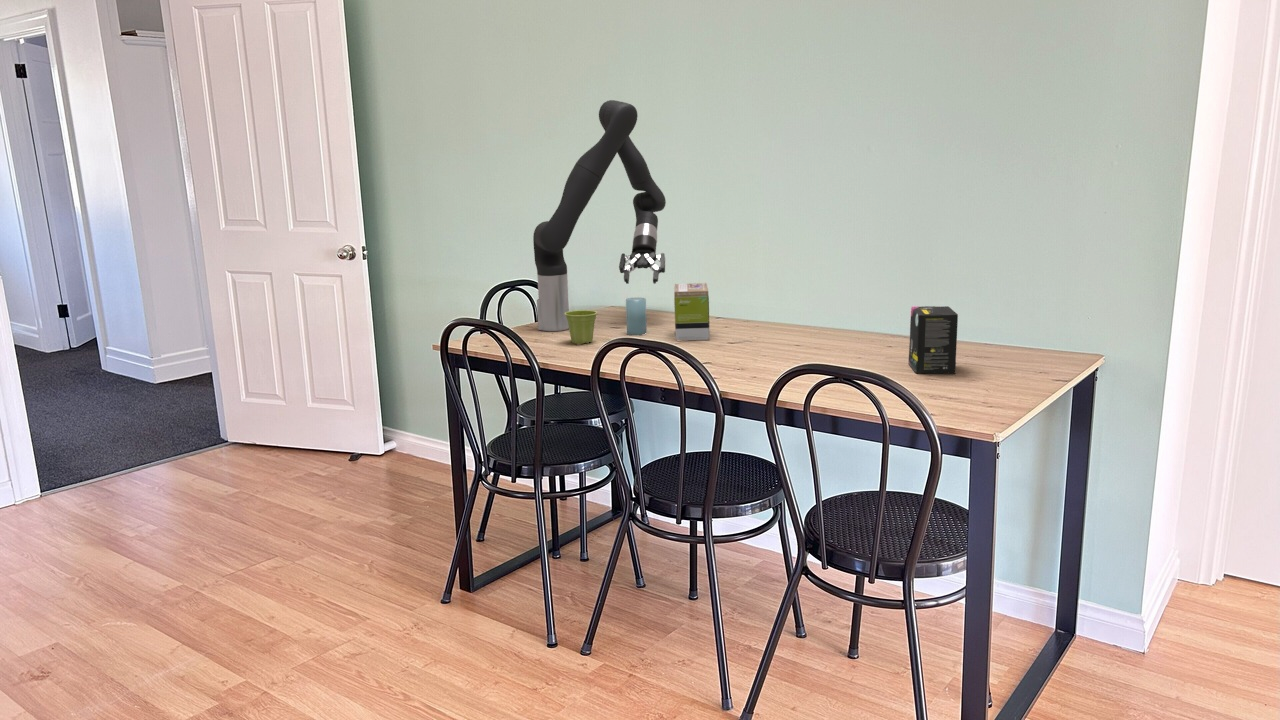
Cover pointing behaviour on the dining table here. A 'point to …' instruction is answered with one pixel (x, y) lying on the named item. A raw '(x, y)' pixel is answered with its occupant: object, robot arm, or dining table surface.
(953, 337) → the tampon box
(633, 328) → the light blue rounded cylinder
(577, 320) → the plant pot
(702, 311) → the tea box
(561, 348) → the dining table surface
